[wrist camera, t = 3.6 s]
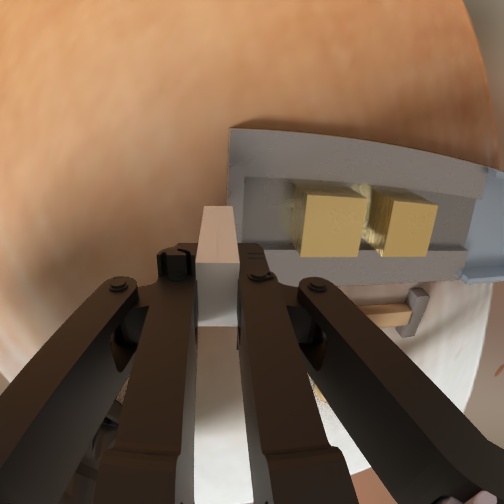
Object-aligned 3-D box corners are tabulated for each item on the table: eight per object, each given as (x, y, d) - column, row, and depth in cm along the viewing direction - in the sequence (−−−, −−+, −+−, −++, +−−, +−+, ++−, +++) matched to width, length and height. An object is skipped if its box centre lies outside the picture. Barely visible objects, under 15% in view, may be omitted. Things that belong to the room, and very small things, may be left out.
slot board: (224, 275, 24) (225, 287, 23) (229, 127, 20) (230, 128, 18) (449, 270, 27) (460, 279, 25) (475, 162, 22) (488, 167, 21)
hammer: (285, 336, 28) (288, 348, 26) (292, 291, 26) (296, 302, 24) (407, 326, 29) (414, 335, 28) (421, 287, 27) (429, 295, 26)
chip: (364, 240, 23) (382, 256, 20) (373, 189, 21) (393, 201, 19) (406, 240, 24) (425, 256, 21) (416, 194, 22) (438, 205, 19)
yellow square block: (289, 238, 22) (300, 257, 20) (295, 183, 21) (307, 195, 18) (341, 239, 23) (357, 257, 20) (349, 187, 21) (367, 198, 18)
